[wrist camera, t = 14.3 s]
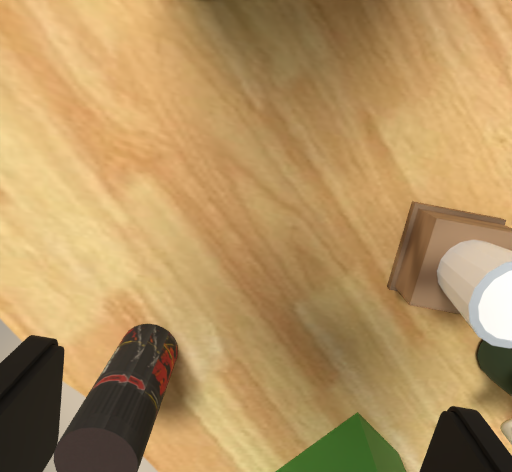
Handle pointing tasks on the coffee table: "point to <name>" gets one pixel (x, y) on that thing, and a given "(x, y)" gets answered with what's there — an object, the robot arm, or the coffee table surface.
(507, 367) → the character mug
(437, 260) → the pedestal
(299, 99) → the coffee table surface
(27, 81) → the coffee table surface
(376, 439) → the hardback book
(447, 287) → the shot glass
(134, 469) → the deodorant
